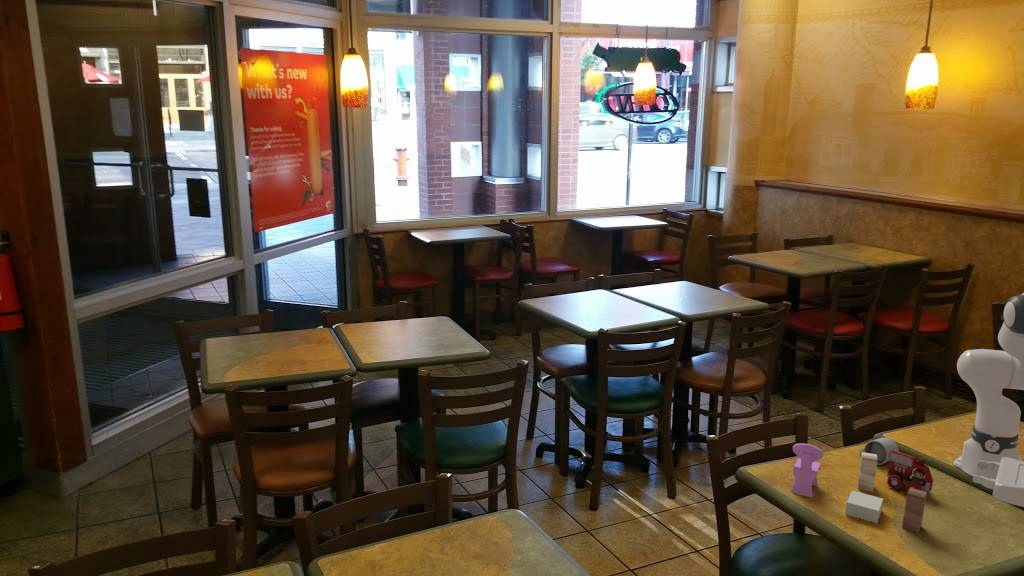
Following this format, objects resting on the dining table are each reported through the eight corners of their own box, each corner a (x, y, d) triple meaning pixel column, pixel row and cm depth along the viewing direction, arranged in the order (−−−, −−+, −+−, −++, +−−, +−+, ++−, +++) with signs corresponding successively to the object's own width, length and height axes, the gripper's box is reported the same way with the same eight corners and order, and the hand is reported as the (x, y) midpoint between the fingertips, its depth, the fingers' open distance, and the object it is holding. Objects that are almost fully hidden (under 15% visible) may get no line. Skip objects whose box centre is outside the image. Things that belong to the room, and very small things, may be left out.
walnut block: (904, 521, 208) (910, 487, 205) (921, 526, 205) (926, 492, 203) (902, 527, 204) (907, 493, 202) (918, 532, 202) (924, 498, 200)
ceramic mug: (899, 462, 243) (901, 439, 241) (885, 468, 238) (888, 445, 237) (866, 450, 251) (869, 428, 250) (853, 456, 247) (855, 434, 245)
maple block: (857, 483, 229) (861, 452, 226) (872, 485, 227) (876, 454, 225) (858, 489, 225) (862, 457, 223) (873, 491, 224) (877, 460, 221)
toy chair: (822, 486, 226) (827, 438, 223) (816, 498, 219) (822, 449, 215) (792, 479, 230) (798, 432, 227) (786, 491, 223) (791, 443, 220)
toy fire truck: (925, 500, 219) (930, 467, 217) (880, 485, 228) (885, 452, 226) (934, 492, 224) (939, 459, 222) (889, 477, 233) (894, 445, 230)
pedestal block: (850, 503, 217) (852, 490, 216) (881, 511, 213) (883, 498, 212) (845, 515, 211) (846, 502, 210) (876, 524, 206) (878, 510, 206)
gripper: (1046, 460, 193) (982, 445, 201) (1041, 490, 177) (972, 473, 185) (1041, 483, 194) (978, 467, 202) (1037, 515, 178) (968, 497, 186)
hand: (975, 470), depth 193 cm, fingers open, 8 cm apart
